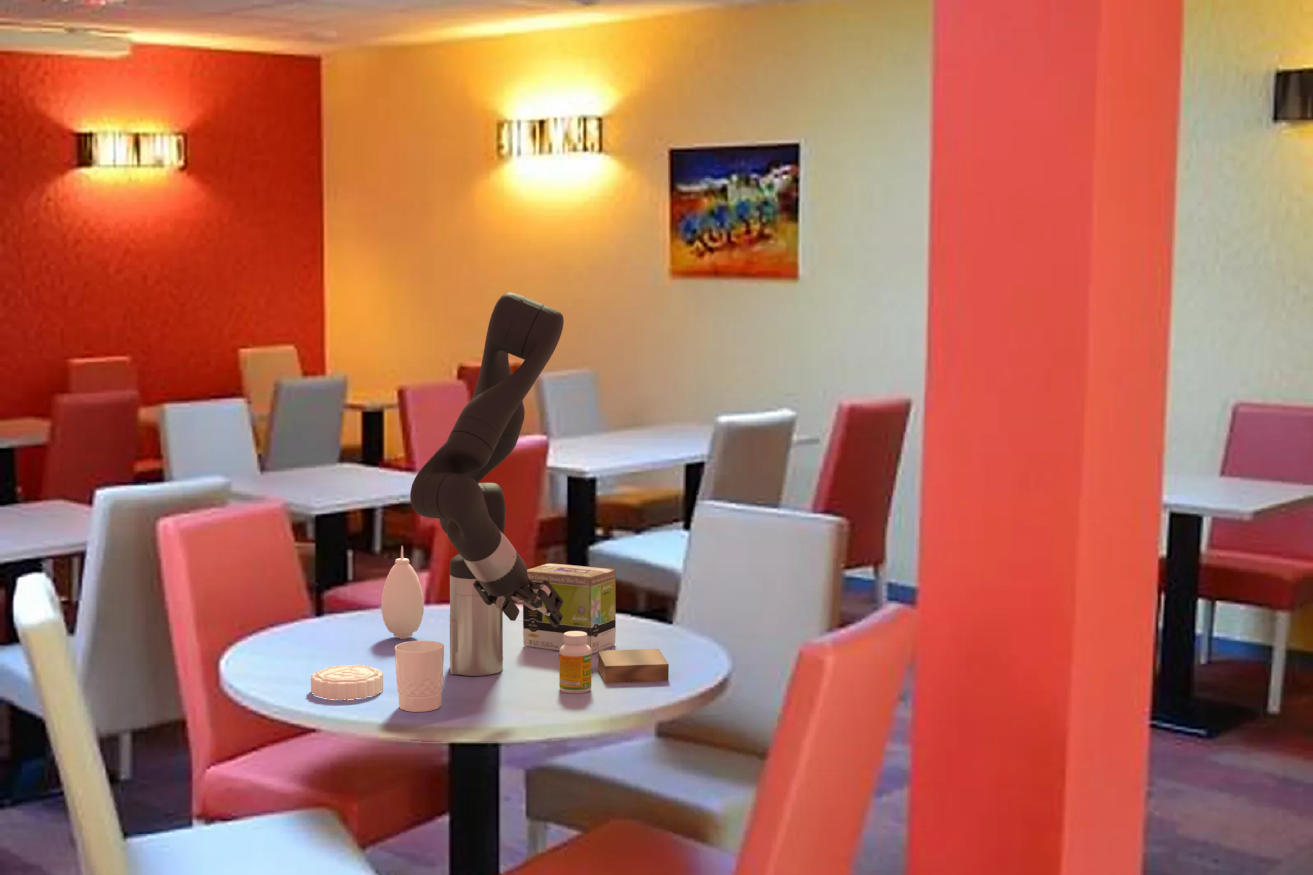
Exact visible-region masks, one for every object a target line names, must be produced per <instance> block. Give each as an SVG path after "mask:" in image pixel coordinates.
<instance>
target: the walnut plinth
mask: <svg viewBox="0 0 1313 875" xmlns="http://www.w3.org/2000/svg"><path fill="white" fill-rule="evenodd" d="M669 667H670V666H669V663H668V661H667V659H666V657H665V656H664V654H663V653H662V651H661V649H660V648H644V649H643V648H642V649H641V648H640V649H637V648H636V649H610V650H609V649H608V650H606V649H604V650H601V651H598V652H597V668H598V671H599V673H600V675H601V677H602V679H603V681H604V683H605V684H617V683H618V684H619V683H621V684H622V683H649V682H652V683H653V682H668V681H669V678H670V677H669V672H670V670H669Z"/></svg>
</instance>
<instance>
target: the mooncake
mask: <svg viewBox="0 0 1313 875" xmlns="http://www.w3.org/2000/svg"><path fill="white" fill-rule="evenodd" d="M380 691H383V692H384V672H382V671H381V670H380V669H379V668H374V667H371V666H370V665H363V664H353V665H351V664H350V665H348V664H347V665H346V664H345V665H344V664H343V665H342V664H340V665H339V664H338V665H336V666H334V665H333V666H328V667H326V668H323V669H320V670H316V671H315V672H314V673H312V674H311V676H310V693H311V692H312V693H314V695H315V696H319V697H323V698H327V699H338V700H344V699H356V698H365V697H367V696H374V697H375V696H378V695H377V694H379V693H380V694H381V692H380ZM380 694H379V695H380ZM314 695H313V696H314ZM327 699H326V700H327Z"/></svg>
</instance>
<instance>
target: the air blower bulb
mask: <svg viewBox="0 0 1313 875" xmlns="http://www.w3.org/2000/svg"><path fill="white" fill-rule="evenodd" d="M400 548H401V549H400V558H396V559H395V561H394V565H393V566H392V567H391V568H390V570H389V573H388V574H387V577H386V580H385V582H384V584H383V585H384V586H383V589H382V595H381V604H380V605H381V614H382V620H383V622H384V625H385V627H386V629H387V630H388V632H389V633H391V634H393V636H394V637H395V638H397V639H399V638H400V639H399V640H406V639H409V637H412V636H413V633H415V632H417V631H418V629H419V628H420V626H421V623H422V620H423V616H424V612H425V602H424V600H425V598H424V593H423V589H422V588H423V587H422V585H421V582H420V579H419V577H418V574H417V572H416V571H415V569H414V567H413V566H412V565H411V563H410V559H409V558H405V557H404V546H403V545H401V547H400Z"/></svg>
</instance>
